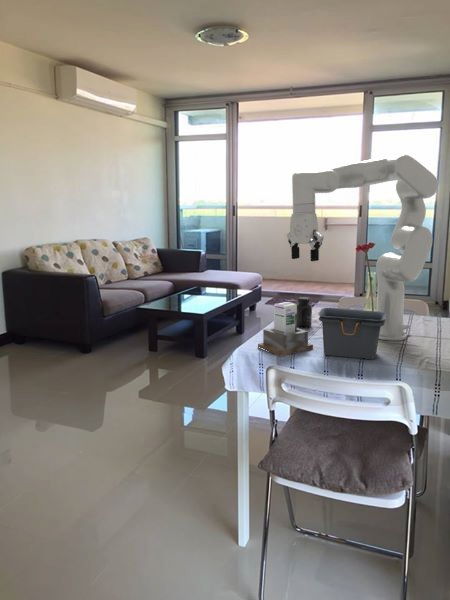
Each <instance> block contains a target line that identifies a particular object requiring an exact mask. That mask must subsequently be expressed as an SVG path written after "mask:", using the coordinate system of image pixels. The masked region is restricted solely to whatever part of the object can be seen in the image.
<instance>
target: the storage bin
mask: <svg viewBox="0 0 450 600" xmlns="http://www.w3.org/2000/svg"><path fill="white" fill-rule="evenodd" d="M317 315H318V316H319V317H318V321H320V322H321V323H322V324H321V326H322V343H323V344H322V345H323V354H324V355H325V356H334V357H341V358H343V357H345V358H352V359H353V358H354V359H361V358H366V359H365V360H370V359H373V360H375V359H376V357H377V356H376V355H377V351H378V345H379V340H380V339H379V333H380V328H381V326H383V325H384V323H385V319H386V313H384V312H378V311H377V310H363V309H353V308H352V309H350V308H337V307H323V308H321V310H319V312H318V314H317Z"/></svg>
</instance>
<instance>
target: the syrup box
mask: <svg viewBox="0 0 450 600" xmlns="http://www.w3.org/2000/svg"><path fill="white" fill-rule="evenodd" d="M297 304H298V303H294V302H289V301H284V302H280V303H274V304H273V328H274V332H277V333H280V334H283V335H285V334H290V333H295V332H297V328H298V327H297Z"/></svg>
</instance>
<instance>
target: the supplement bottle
mask: <svg viewBox="0 0 450 600" xmlns="http://www.w3.org/2000/svg"><path fill="white" fill-rule="evenodd" d="M310 300H311V298H310V297H309V296H308V297H307V296H299V297H298V298H297V303H296V304H297V328H299V329H310V328H311V327H312V317H313V306H312V305H311V304H310V303H311V301H310Z"/></svg>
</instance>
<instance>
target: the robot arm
mask: <svg viewBox="0 0 450 600" xmlns="http://www.w3.org/2000/svg"><path fill="white" fill-rule="evenodd" d="M392 181H396V184H395V190H396V193H397V196H398V198H399V200H400V203H401V211H400V215H399V216H398V220H397V222H396V223H395V226H394V229H393V232H392V235H391V237H390V245H391V246H392V247H393V249H395V250H398V251H402V252H403V253H397V252H385V253H383V254H382V255H380V256H379V258H377V261H376V266H375V270H376V279H377V297H376V299H377V300H376V311H378V312H384V313H386V319H385V323H384V325H383V326H381V328H380V333H379V339H378V340H382V341H391V342H392V341H402V340H405V339H407V333H405V332H404V331H405V330H408V329H410V327H411V326H410V324H409V323H405V324H404V323H403V322H404V309H405V308H404V307H405V306H404V305H405V293H406V292H405V284H404V283H411V282H414V281H415V280H416V279H418V277H419V276H420V274H421V273H422V270H423V268H424V266H425V263H426V261H427V258H428V256H429V254H430V251H431V249H432V247H433V240H434V239H433V234H432V231H431V230H430V229H429V228H427V227H426V226H423V223H424V221H425V218H426V213H427V208H426V204H425V202H424V199H430V198H432V197H433V196H434V195H435V194H436V193H437V191H438V189H439V182H438V178H437V176H435V175H434V174H433V172H431V171H430V170H429V169H428V168H426V167H425V166H424V165H423V164H421V163H420V162H419V161H418V160H417V159H415V158H414V157H412V156H410V155H409V154H396V155H389V156H384V157H378V158H373V159H367V160H362V161H357V162H353V163H348V164H344V165H340V166H337V167H331V168H326V169H321V170H314V171H296V172H294V173H293V174H292V178H291V182H292V185H291V188H292V189H291V190H292V213H291V216H290V223H289V232H288V233H287V234H286V238H287V240H288V244H289V247H290V248H291V253H290V254H291V259H292V260H296V259H299V258H300V247H299V245H302V244H303V245H307V244H308V245H309V247H310V252H309V253H310V255H309V256H310V261H311V262H317V261H319V259H320V258H319V257H320V254H319V253H320V252H319V251H320V249H321V247H322V245H323V241H324V235H323V234H322V233H320V232H319V224H318V223H319V222H318V216H317V213H316V194H330V193H333V192H335V191H336V190H338V189H351V188H352V189H354V188H362V187H368V186H371V185H376V184H383V183H387V182H392Z"/></svg>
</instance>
